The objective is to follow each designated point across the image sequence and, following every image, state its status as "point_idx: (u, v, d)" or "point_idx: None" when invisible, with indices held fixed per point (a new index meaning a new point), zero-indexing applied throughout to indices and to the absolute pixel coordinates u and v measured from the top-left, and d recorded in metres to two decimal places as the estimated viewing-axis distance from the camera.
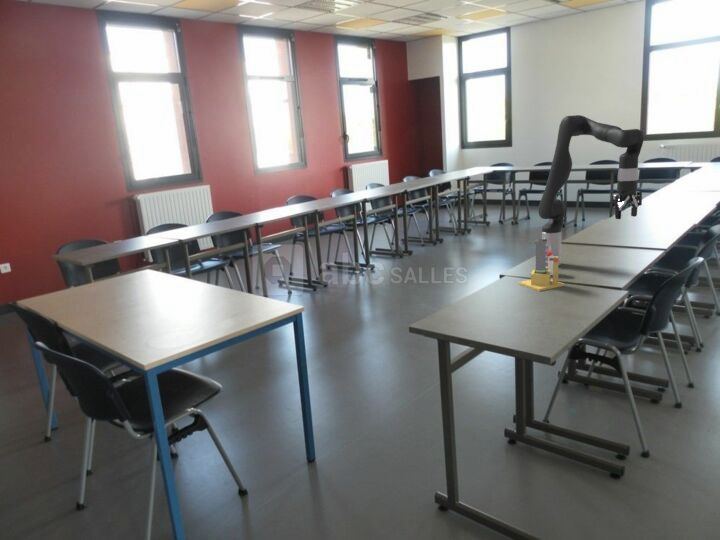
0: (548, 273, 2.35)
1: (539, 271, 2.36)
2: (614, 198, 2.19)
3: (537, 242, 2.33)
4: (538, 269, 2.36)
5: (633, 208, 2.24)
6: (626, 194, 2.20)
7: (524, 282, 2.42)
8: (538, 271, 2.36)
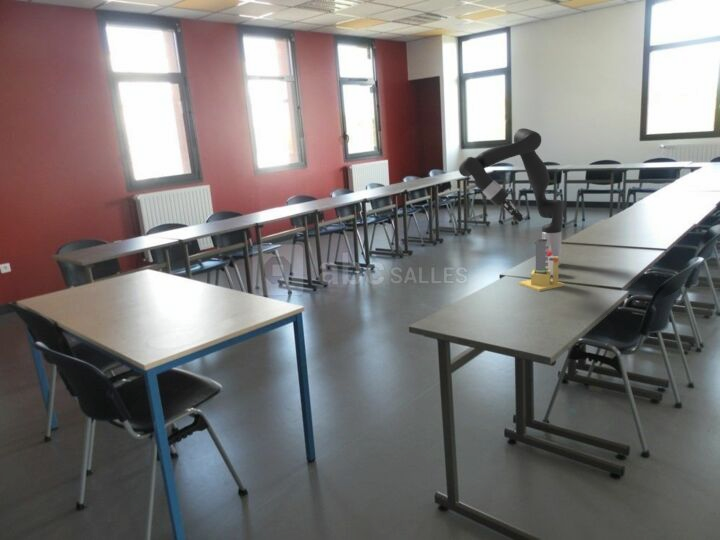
0: (548, 273, 2.35)
1: (539, 271, 2.36)
2: None
3: (537, 242, 2.33)
4: (538, 269, 2.36)
5: None
6: None
7: (524, 282, 2.42)
8: (538, 271, 2.36)
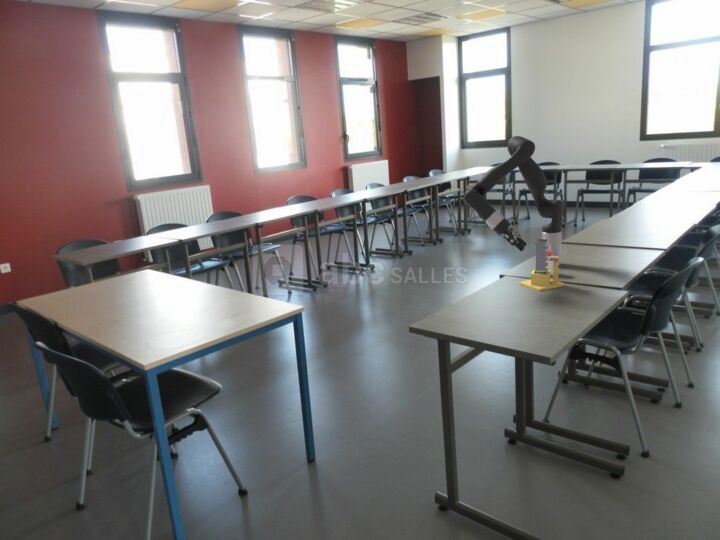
0: (548, 273, 2.35)
1: (539, 271, 2.36)
2: None
3: (537, 242, 2.33)
4: (538, 269, 2.36)
5: None
6: None
7: (524, 282, 2.42)
8: (538, 271, 2.36)
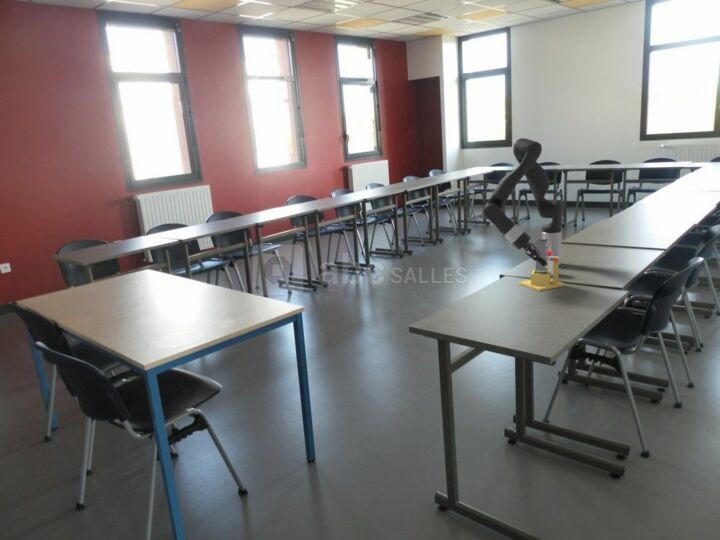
0: (548, 273, 2.35)
1: (539, 271, 2.36)
2: None
3: (537, 242, 2.33)
4: (538, 269, 2.36)
5: None
6: None
7: (524, 282, 2.42)
8: (538, 271, 2.36)
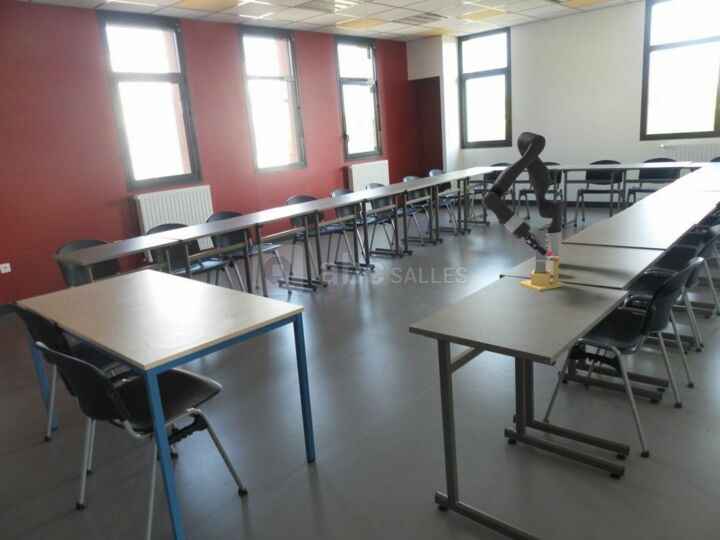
0: (548, 273, 2.35)
1: (539, 261, 2.35)
2: None
3: (537, 231, 2.32)
4: (538, 258, 2.35)
5: None
6: None
7: (524, 282, 2.42)
8: (538, 261, 2.35)
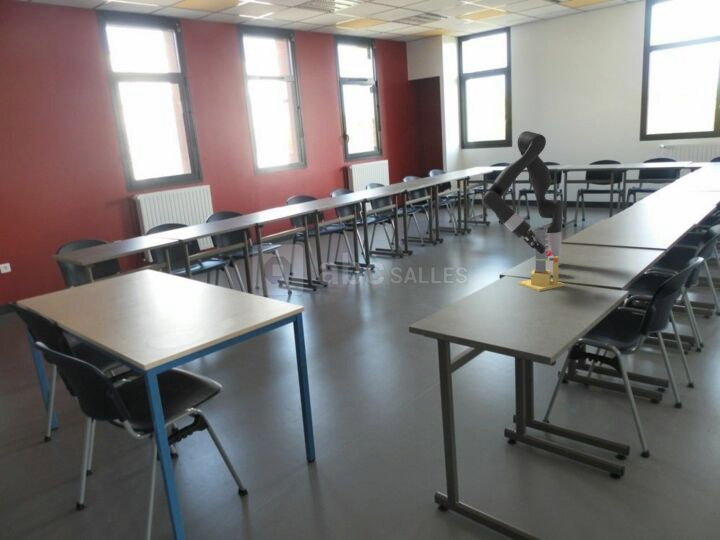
0: (548, 273, 2.35)
1: (539, 260, 2.35)
2: None
3: (537, 230, 2.32)
4: (538, 257, 2.35)
5: None
6: None
7: (524, 282, 2.42)
8: (538, 260, 2.35)
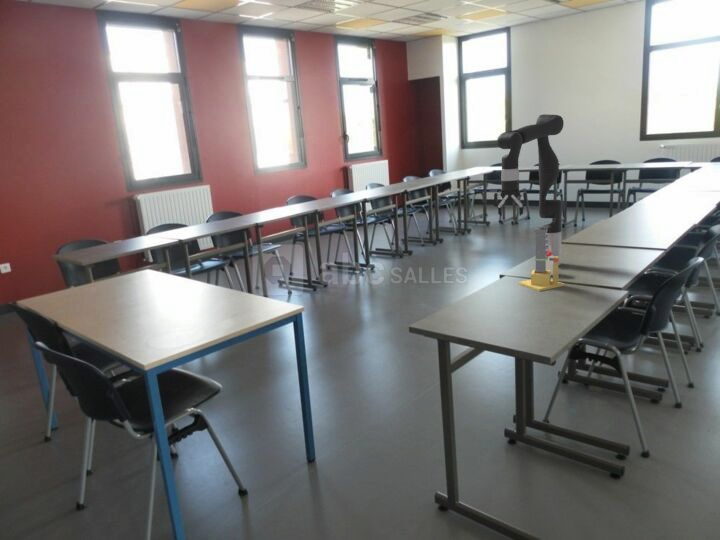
0: (548, 273, 2.35)
1: (539, 260, 2.35)
2: None
3: (537, 230, 2.32)
4: (538, 257, 2.35)
5: None
6: (506, 193, 2.34)
7: (524, 282, 2.42)
8: (538, 260, 2.35)
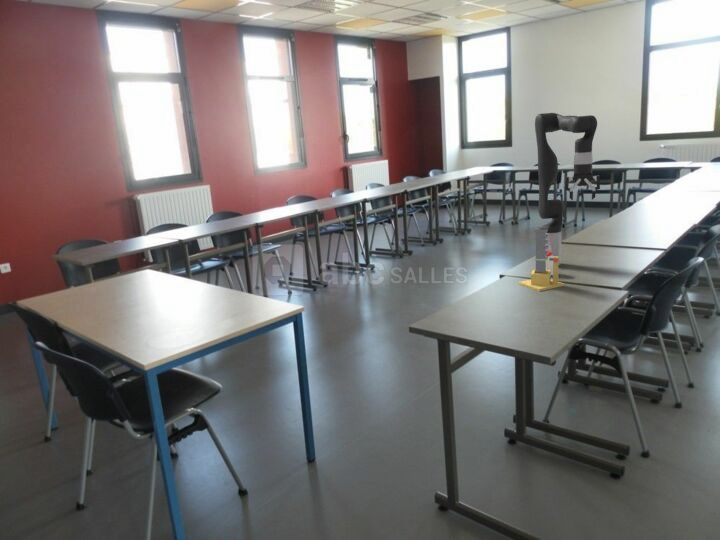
0: (548, 273, 2.35)
1: (539, 260, 2.35)
2: (566, 180, 2.38)
3: (537, 230, 2.32)
4: (538, 257, 2.35)
5: (592, 191, 2.35)
6: (579, 177, 2.35)
7: (524, 282, 2.42)
8: (538, 260, 2.35)
